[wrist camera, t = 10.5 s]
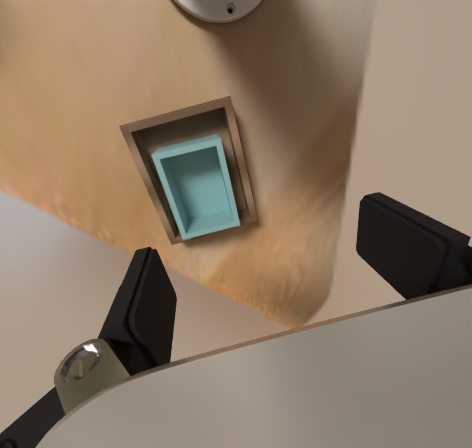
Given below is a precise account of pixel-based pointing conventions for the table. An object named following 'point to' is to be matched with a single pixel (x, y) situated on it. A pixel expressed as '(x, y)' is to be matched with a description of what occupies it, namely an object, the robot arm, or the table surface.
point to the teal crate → (197, 185)
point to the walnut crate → (184, 129)
